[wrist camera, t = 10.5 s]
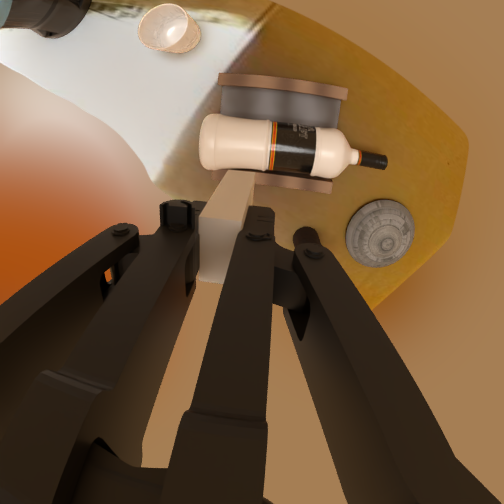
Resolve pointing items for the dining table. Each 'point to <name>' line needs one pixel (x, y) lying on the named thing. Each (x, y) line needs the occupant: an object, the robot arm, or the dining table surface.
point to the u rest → (281, 116)
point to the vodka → (279, 147)
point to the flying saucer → (380, 233)
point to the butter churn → (305, 236)
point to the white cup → (169, 29)
